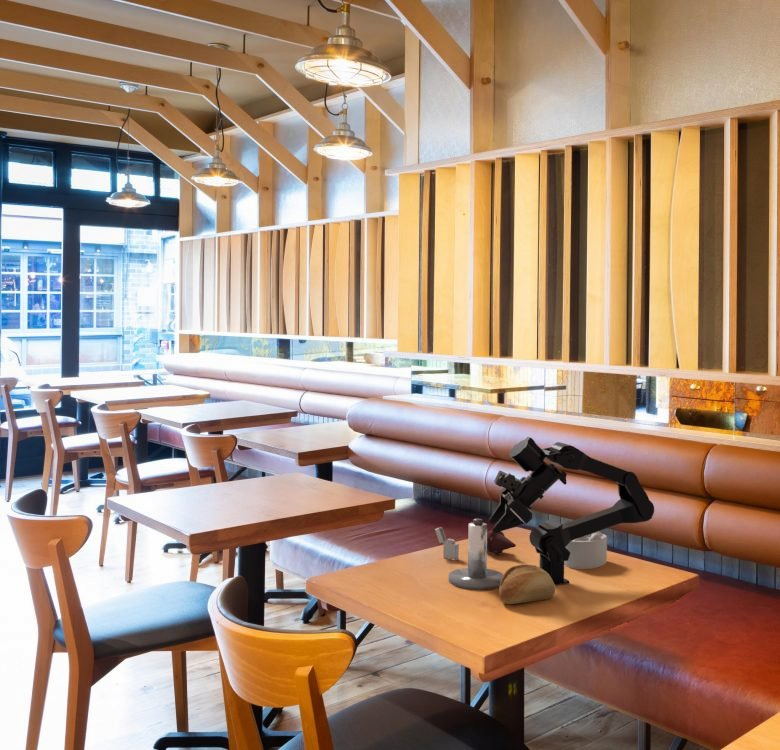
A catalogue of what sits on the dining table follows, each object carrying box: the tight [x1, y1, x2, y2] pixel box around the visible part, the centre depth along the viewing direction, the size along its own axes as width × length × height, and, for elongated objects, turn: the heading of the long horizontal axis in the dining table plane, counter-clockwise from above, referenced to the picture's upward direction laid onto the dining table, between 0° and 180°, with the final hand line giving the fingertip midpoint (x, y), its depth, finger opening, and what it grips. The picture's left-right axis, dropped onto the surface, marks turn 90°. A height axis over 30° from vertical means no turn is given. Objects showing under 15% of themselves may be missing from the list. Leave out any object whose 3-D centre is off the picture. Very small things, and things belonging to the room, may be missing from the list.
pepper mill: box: [467, 518, 488, 579], centre depth 202 cm, size 5×5×14 cm
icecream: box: [487, 529, 517, 555], centre depth 227 cm, size 7×7×15 cm
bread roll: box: [498, 564, 556, 605], centre depth 188 cm, size 10×15×8 cm, turn 123°
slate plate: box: [448, 567, 504, 591], centre depth 202 cm, size 14×14×1 cm
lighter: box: [434, 526, 460, 561], centre depth 222 cm, size 7×2×8 cm, turn 48°
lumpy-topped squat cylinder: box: [564, 531, 608, 570], centre depth 218 cm, size 10×13×9 cm
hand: (491, 527), depth 201 cm, fingers open, 9 cm apart
